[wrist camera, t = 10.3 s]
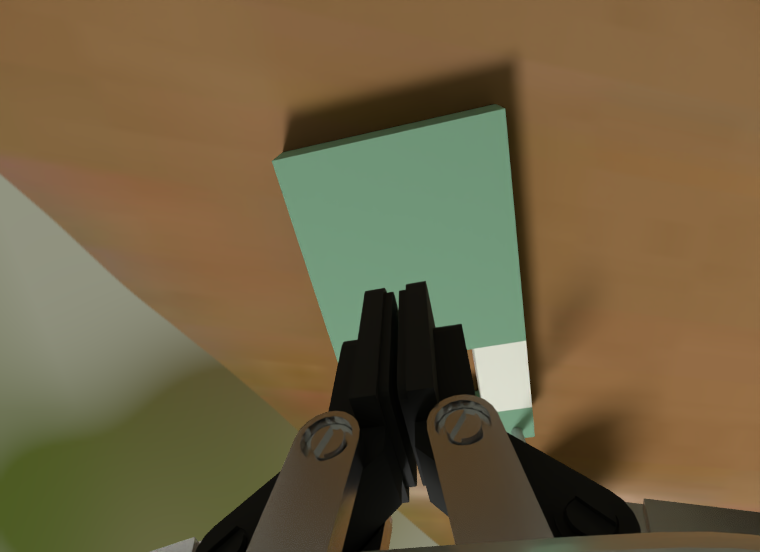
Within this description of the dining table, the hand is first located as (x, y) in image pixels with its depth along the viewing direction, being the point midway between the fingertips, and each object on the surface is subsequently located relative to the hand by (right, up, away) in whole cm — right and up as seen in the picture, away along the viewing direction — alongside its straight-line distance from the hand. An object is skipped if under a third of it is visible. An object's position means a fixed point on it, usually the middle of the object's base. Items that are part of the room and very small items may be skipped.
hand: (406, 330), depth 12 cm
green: (+2, 0, +19) cm, 19 cm away
